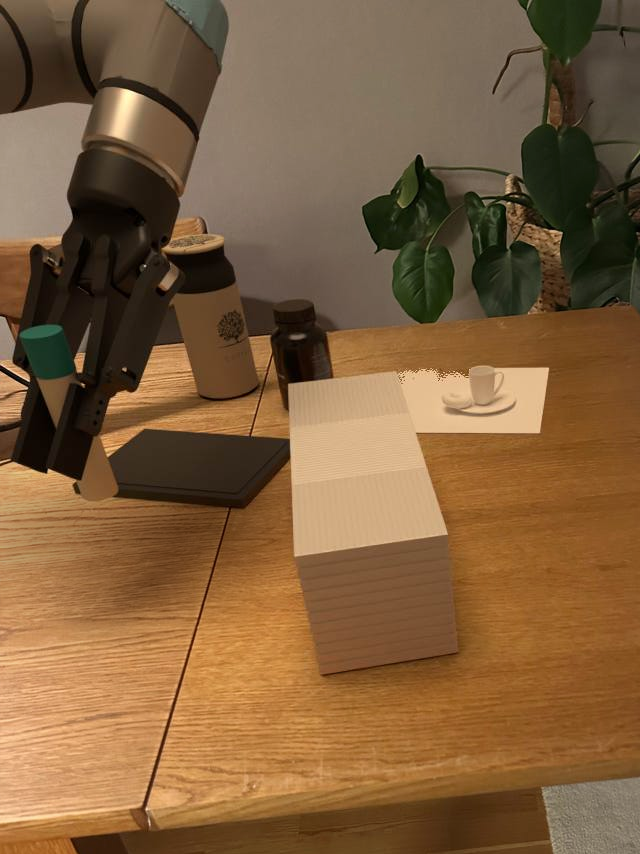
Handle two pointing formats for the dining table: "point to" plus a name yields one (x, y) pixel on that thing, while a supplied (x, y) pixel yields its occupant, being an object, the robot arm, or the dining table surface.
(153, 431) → the black cutting board
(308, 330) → the supplement bottle
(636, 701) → the dining table surface
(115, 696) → the dining table surface
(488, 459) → the dining table surface
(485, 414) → the teacup and saucer
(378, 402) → the stack of papers
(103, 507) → the dining table surface
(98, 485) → the marker
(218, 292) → the travel mug
